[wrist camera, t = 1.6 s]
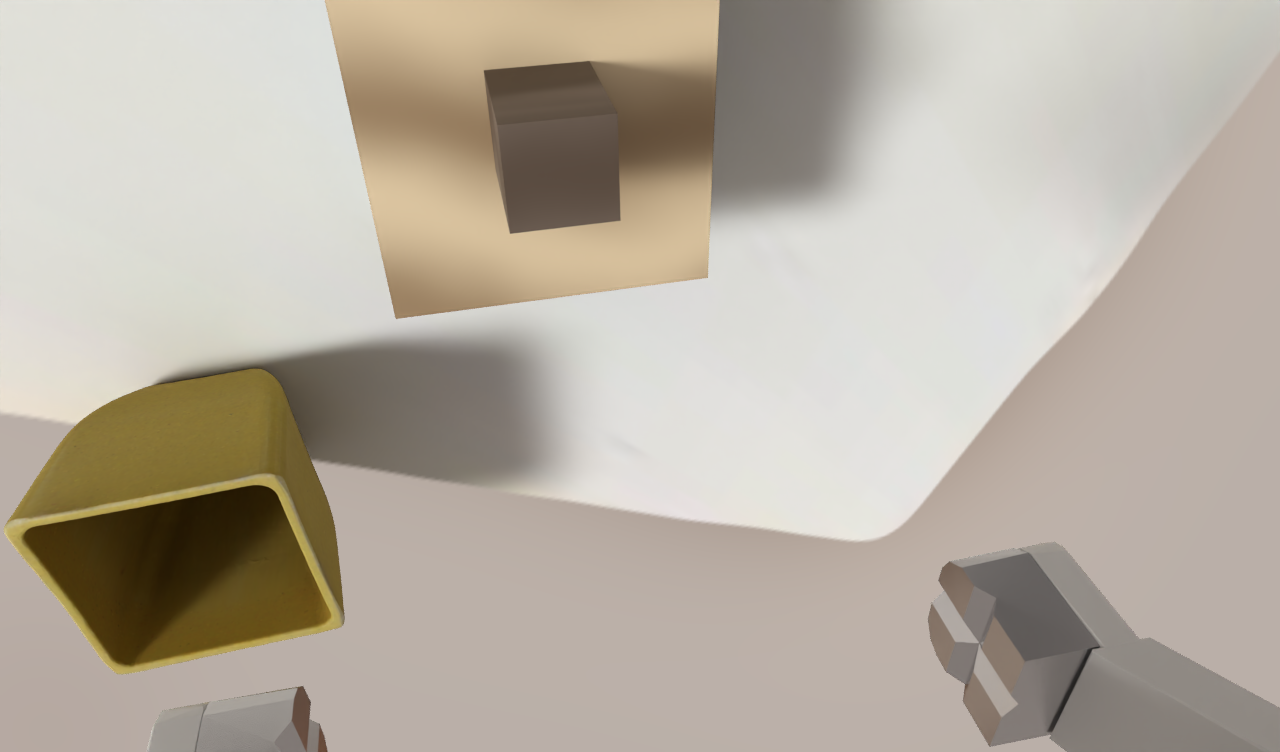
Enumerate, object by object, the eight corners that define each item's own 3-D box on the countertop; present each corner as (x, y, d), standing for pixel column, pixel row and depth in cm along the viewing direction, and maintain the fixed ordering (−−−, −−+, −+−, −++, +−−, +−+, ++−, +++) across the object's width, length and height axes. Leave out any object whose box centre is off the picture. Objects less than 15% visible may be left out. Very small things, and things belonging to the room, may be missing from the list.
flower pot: (354, 473, 41) (348, 631, 35) (160, 510, 40) (113, 681, 33) (300, 321, 36) (279, 472, 29) (72, 358, 35) (-6, 525, 28)
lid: (305, -133, 23) (283, -84, 18) (702, -152, 24) (778, -112, 20) (395, 283, 30) (396, 394, 26) (691, 246, 32) (743, 344, 27)
